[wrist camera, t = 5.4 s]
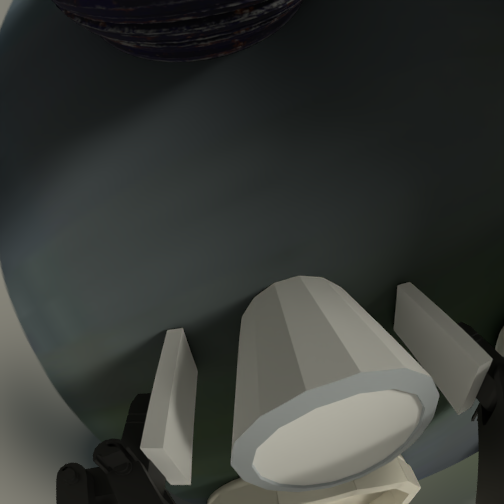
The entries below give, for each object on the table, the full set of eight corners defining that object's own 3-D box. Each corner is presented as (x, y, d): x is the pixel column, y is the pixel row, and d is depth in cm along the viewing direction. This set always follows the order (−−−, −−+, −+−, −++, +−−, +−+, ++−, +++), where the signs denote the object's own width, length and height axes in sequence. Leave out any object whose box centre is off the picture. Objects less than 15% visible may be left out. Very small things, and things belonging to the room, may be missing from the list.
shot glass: (196, 339, 14) (184, 469, 7) (297, 230, 12) (372, 326, 6) (297, 396, 16) (326, 501, 9) (388, 313, 14) (463, 406, 8)
